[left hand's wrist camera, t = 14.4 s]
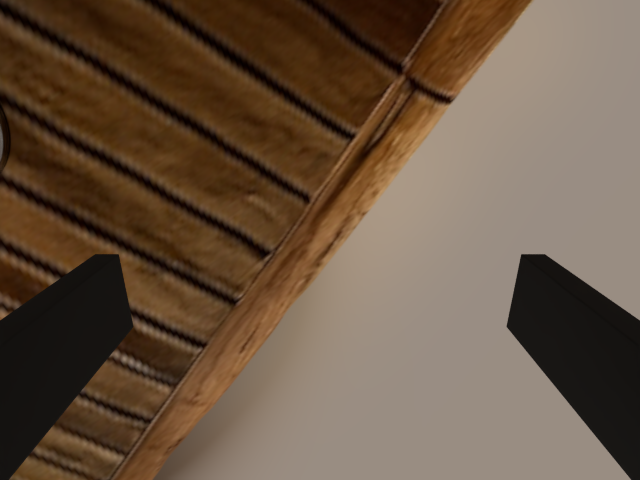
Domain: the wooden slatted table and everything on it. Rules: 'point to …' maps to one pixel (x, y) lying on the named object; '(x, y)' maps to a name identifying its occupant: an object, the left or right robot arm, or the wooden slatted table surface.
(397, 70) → the wooden slatted table surface
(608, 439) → the left robot arm
